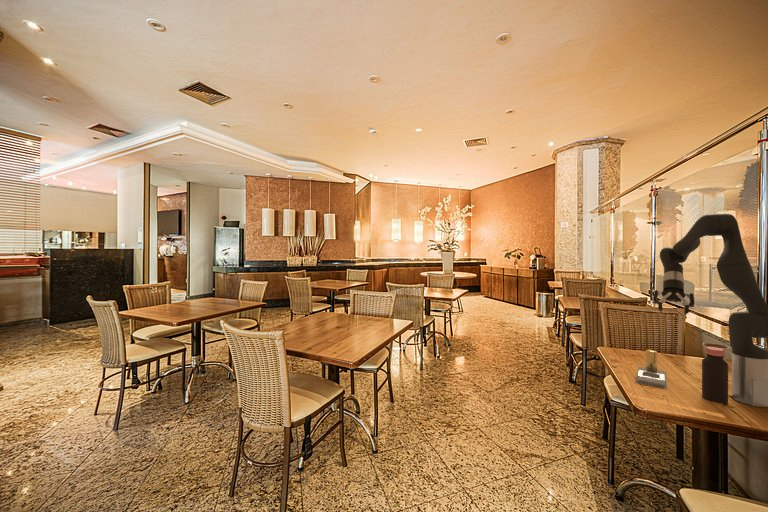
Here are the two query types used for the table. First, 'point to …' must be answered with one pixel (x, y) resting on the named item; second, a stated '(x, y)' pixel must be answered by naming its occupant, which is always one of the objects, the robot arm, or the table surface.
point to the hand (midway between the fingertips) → (673, 312)
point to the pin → (651, 361)
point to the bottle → (715, 376)
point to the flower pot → (717, 347)
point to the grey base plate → (652, 384)
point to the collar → (651, 378)
